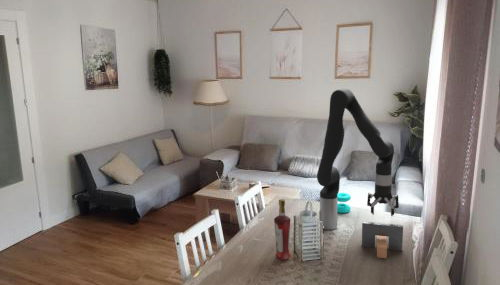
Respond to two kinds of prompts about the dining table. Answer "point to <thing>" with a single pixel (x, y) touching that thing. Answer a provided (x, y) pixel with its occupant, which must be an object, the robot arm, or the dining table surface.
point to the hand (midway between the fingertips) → (382, 214)
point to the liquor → (282, 233)
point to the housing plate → (382, 234)
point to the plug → (381, 247)
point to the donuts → (341, 206)
